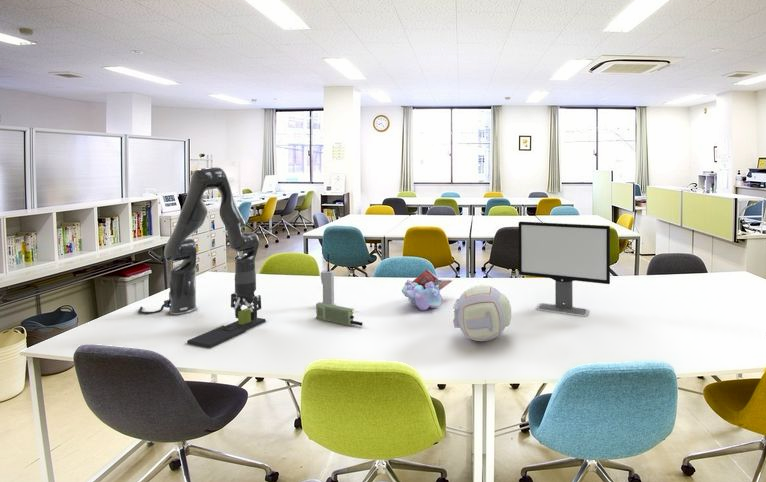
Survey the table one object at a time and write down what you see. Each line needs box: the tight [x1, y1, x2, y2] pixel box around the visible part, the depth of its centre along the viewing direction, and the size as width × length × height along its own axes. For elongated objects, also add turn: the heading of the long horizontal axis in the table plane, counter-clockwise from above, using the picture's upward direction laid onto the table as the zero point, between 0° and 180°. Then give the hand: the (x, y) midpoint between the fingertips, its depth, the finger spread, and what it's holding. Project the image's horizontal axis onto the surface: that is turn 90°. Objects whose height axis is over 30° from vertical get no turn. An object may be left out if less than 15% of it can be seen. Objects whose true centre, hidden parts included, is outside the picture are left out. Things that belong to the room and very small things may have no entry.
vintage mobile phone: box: [320, 253, 335, 305], centre depth 174 cm, size 4×5×25 cm
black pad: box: [224, 307, 266, 332], centre depth 152 cm, size 10×13×6 cm
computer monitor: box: [518, 221, 611, 317], centre depth 168 cm, size 41×8×40 cm, turn 68°
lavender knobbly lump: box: [401, 269, 454, 311], centre depth 176 cm, size 20×22×18 cm
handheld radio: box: [315, 302, 363, 327], centre depth 156 cm, size 7×3×25 cm
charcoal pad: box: [186, 324, 246, 349], centre depth 142 cm, size 12×14×1 cm
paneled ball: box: [452, 284, 512, 342], centre depth 140 cm, size 21×22×20 cm
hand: (246, 318), depth 154 cm, fingers open, 8 cm apart
